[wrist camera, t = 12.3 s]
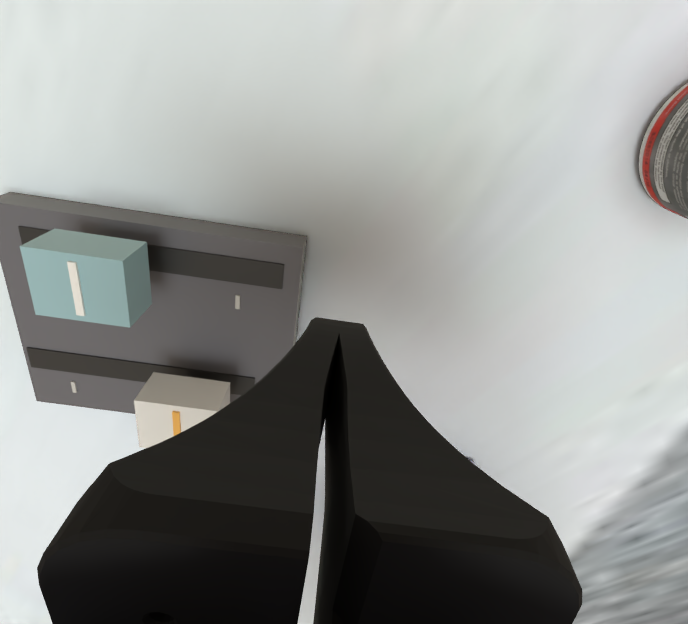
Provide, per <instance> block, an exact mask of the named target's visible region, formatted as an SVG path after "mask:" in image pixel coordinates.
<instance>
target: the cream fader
mask: <svg viewBox="0 0 688 624" xmlns="http://www.w3.org/2000/svg"><path fill="white" fill-rule="evenodd" d="M228 404H230V382H223V381H216V380H214V379H207V378H200V377H192V376H178V375H171V374H164V373H156V372H153V374H152V375H151V376H150V378H149V379H148V381H147V382H146V384H145V385H144V386H143V388H142V389H141V391H140V392H139V394H138V395H137V397H136V398H135V399H134V405H135V414H136V422H137V431H138V439H139V447H143V448H149V447H151V446H153V445H156V444H158V443H160V442H163V441H165V440H167V439H169V438H171V437H173V436H175V435H177V434H179V433H181V432H183V431H185V430H187V429H189V428H191V427H192V426H194V425H196V424H198V423H200V422H202V421H203V420H205V419H207V418H209V417H210V416H212V415H213V414H215V413H216V412H218V411H220V410H221V409H223V408H224V407H225V406H227V405H228Z"/></svg>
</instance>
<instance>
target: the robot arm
mask: <svg viewBox="0 0 688 624" xmlns="http://www.w3.org/2000/svg"><path fill="white" fill-rule="evenodd" d="M324 422H325V512H324V523H323V533H322V544H321V554H320V564H319V574H318V584H317V594H316V604H315V613H314V623H313V624H572V623H573V621H574V619H575V617H576V615H577V613H578V611H579V609H580V607H581V605H582V588H581V586H580V584H579V581H578V579H577V577H576V574H575V572H574V570H573V567H572V565H571V562H570V560H569V557H568V555H567V553H566V551H565V548H564V546H563V544H562V542H561V540H560V538H559V536H558V534H557V533H556V531H555V529H554V527H553V525H552V523H551V521H550V519H549V517H547V516H546V515H544V514H543V513H541V512H540V511H538V510H537V509H535V508H534V507H532V506H531V505H529V504H528V503H526V502H525V501H523V500H522V499H520V498H519V497H518V496H516V495H515V494H513V493H512V492H510V491H509V490H507V489H506V488H504V487H503V486H501V485H500V484H499V483H497V482H496V481H495V480H493V479H492V478H491V477H490V476H488V475H487V474H486V473H484V472H483V471H482V470H481V469H479V468H478V467H477V466H476V465H475V463H474V462H473V461H470V460H468V459H467V458H466V457H465V456H464V455H462V454H461V453H460V452H459V451H458V450H457V449H455V448H454V447H453V446H452V445H451V444H450V443H449V442H448V441H447V440H446V439H445V438H444V437H443V436H442V435H441V434H439V433H438V432H437V431H436V430H435V429H434V428H433V426H432V425H431V424H430V423H429V422H428V421H427V420H426V419H425V418H424V417H423V416H422V415H421V413H420V412H419V411H418V410H417V409H416V408H415V407H414V405H413V404H412V403H411V402H410V400H409V399H408V398H407V397H406V395H405V394H404V392H403V391H402V390H401V388H400V387H399V385H398V384H397V383H396V381H395V380H394V378H393V377H392V375H391V373H390V372H389V370H388V369H387V367H386V365H385V364H384V362H383V360H382V359H381V357H380V355H379V353H378V351H377V350H376V348H375V346H374V344H373V342H372V340H371V338H370V336H369V333H368V331H367V329H366V327H365V326H364V325H363V324H359V323H352V322H345V321H338V320H331V319H323V318H314V319H313V320H311V322H310V324H309V326H308V327H307V329H306V330H305V332H304V333H303V335H302V336H301V337H300V339H299V340H298V341H297V342H296V344H295V345H294V346H293V347H292V348H291V349H290V351H289V352H288V353H287V354H286V355H285V356H284V357H283V359H282V360H281V361H280V362H279V363H278V364H277V365H275V366H274V367H273V368H272V369H271V370H270V371H269V372H268V373H267V374H266V375H265V376H264V377H263V378H262V379H261V380H260V381H258V382H257V383H256V384H255V385H254V386H253V387H251V388H250V389H249V390H247V391H246V392H245V393H244V394H242V395H241V396H240V397H238V398H237V399H236V400H234V401H233V402H231V403H230V404H228V405H227V406H225V407H224V408H223V409H221V410H220V411H218V412H216V413H215V414H213V415H212V416H210V417H209V418H207V419H205V420H203V421H202V422H200V423H198V424H196V425H194V426H192V427H191V428H189V429H187V430H185V431H183V432H181V433H179V434H177V435H175V436H173V437H171V438H169V439H167V440H165V441H163V442H160V443H158V444H156V445H153V446H151V447H149V448H146V449H144V450H141V451H139V452H137V453H134V454H132V455H129V456H127V457H125V458H122V459H120V460H117V461H114V462H112V463H110V464H108V466H107V467H106V468H105V469H104V471H103V472H102V473H101V474H100V475H99V477H98V478H97V479H96V480H95V481H94V483H93V484H92V485H91V486H90V487H89V488H88V490H87V491H86V492H85V493H84V495H83V496H82V497H81V498H80V500H79V501H78V502H77V504H76V505H75V506H74V508H73V509H72V511H71V513H70V514H69V516H68V517H67V519H66V520H65V522H64V523H63V525H62V526H61V528H60V529H59V531H58V532H57V534H56V535H55V537H54V538H53V540H52V541H51V543H50V544H49V546H48V547H47V549H46V550H45V552H44V553H43V556H42V558H41V560H40V563H39V565H38V567H37V570H38V579H39V585H40V588H41V591H42V594H43V597H44V600H45V603H46V606H47V608H48V611H49V614H50V617H51V620H52V623H53V624H297V622H298V616H299V611H300V605H301V599H302V593H303V588H304V582H305V576H306V570H307V565H308V559H309V551H310V542H311V532H312V523H313V513H314V499H315V485H316V472H317V460H318V449H319V444H320V440H321V435H322V431H323V426H324Z"/></svg>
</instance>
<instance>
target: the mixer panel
mask: <svg viewBox="0 0 688 624" xmlns="http://www.w3.org/2000/svg"><path fill="white" fill-rule="evenodd" d="M53 229H62V230H69V231H76V232H82V233H89V234H96V235H103V236H110V237H117V238H124V239H130V240H137V241H144V242H147V248H148V260H149V273H150V285H151V297H152V304H151V305H150V306H149V308H148V309H147V310H146V311H145V312H144V313H143V314H142V315H141V316H140V317H139V319H138V320H137V321H136V322H135V323H134V324H133V325H132V326H131V327H130V328H129V327H122V326H114V325H107V324H100V323H93V322H85V321H78V320H71V319H64V318H56V317H49V316H42V315H36V314H35V310H34V306H33V301H32V297H31V293H30V288H29V284H28V280H27V276H26V271H25V267H24V263H23V258H22V254H21V250H20V246H21V245H23V244H25V243H27V242H29V241H31V240H33V239H35V238H37V237H39V236H41V235H43V234H45V233H47V232H49V231H51V230H53ZM306 240H307V236H301V235H295V234H288V233H281V232H274V231H268V230H261V229H254V228H248V227H241V226H234V225H227V224H221V223H214V222H207V221H200V220H194V219H187V218H180V217H173V216H167V215H160V214H153V213H147V212H140V211H133V210H126V209H120V208H113V207H106V206H99V205H93V204H86V203H79V202H73V201H66V200H59V199H52V198H46V197H39V196H32V195H25V194H19V193H12V192H9V193H6V194H3V195H0V262H1V265H2V269H3V273H4V277H5V281H6V285H7V288H8V292H9V296H10V300H11V304H12V308H13V312H14V315H15V319H16V323H17V327H18V331H19V335H20V338H21V342H22V346H23V350H24V354H25V358H26V361H27V365H28V369H29V373H30V377H31V381H32V385H33V388H34V392H35V396H36V400H37V401H41V402H49V403H56V404H64V405H72V406H79V407H87V408H95V409H102V410H110V411H118V412H125V413H133V414H135V405H134V399H135V398H136V397H137V395H138V394H139V392H140V391H141V389H142V388H143V386H144V385H145V384H146V382H147V381H148V379H149V378H150V376H151V375H152V374H153V372H156V373H164V374H171V375H178V376H192V377H200V378H207V379H214V380H216V381H223V382H230V403H231V402H233V401H234V400H236V399H237V398H238V397H240V396H241V395H242V394H244V393H245V392H246V391H247V390H249V389H250V388H251V387H253V386H254V385H255V384H256V383H257V382H258V381H260V380H261V379H262V378H263V377H264V376H265V375H266V374H267V373H268V372H269V371H270V370H271V369H272V368H273V367H274V366H275V365H277V364H278V363H279V362H280V361H281V360H282V359H283V357H284V356H285V355H286V354H287V353H288V352H289V351H290V349H291V348H292V347H293V346H294V345H295V344H296V334H297V325H298V315H299V306H300V296H301V287H302V278H303V268H304V259H305V249H306Z"/></svg>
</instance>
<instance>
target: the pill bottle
mask: <svg viewBox="0 0 688 624" xmlns="http://www.w3.org/2000/svg"><path fill="white" fill-rule="evenodd" d="M639 173H640V178H641V181H642V184H643V187H644V188H645V190H646V192H647V193H648V195H649V196H650V197H651V198H652V199H653V200H654V201H655V202H656V203H657V204H659V205H660V206H662V207H663V208H665V209H667V210H669V211H671V212H673V213H676V214H678V215H680V216H682V217H685V218H687V219H688V83H686V84H685V85H684V86H682V87H681V88H680V89H679V90H678V91H676V92H675V93H674V94H673V95H672V96H671V97H670V98H669V99H668V100H667V101H666V102H665V104H664V105H663V106H662V107H661V108H660V110H659V111H658V112H657V114H656V115H655V117H654V118H653V120H652V122H651V123H650V125H649V127H648V129H647V131H646V134H645V136H644V139H643V142H642V145H641V149H640V155H639Z"/></svg>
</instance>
